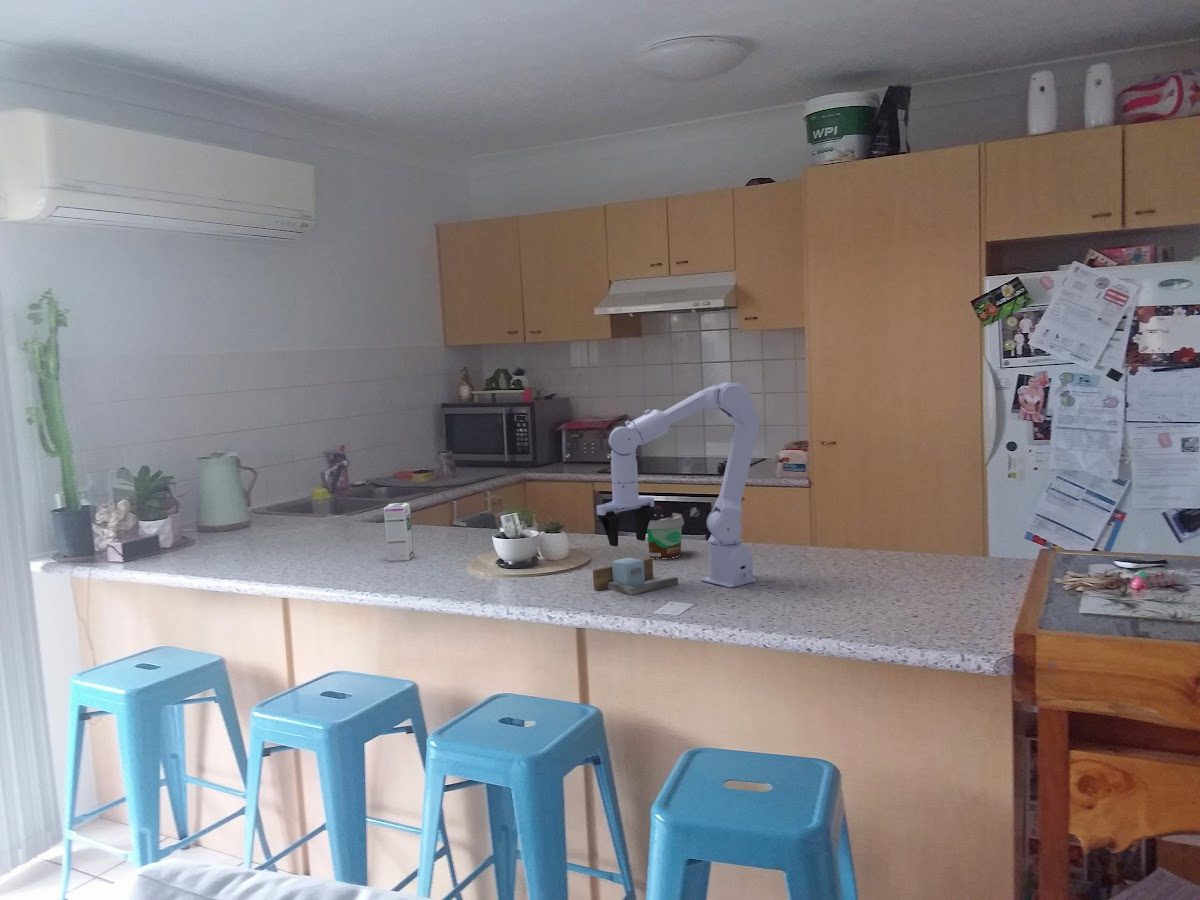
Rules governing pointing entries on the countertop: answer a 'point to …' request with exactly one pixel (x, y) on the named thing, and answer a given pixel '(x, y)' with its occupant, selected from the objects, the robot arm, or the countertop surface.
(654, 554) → the food container
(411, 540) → the syrup box
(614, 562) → the cabinet block
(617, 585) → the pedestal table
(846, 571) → the countertop surface
